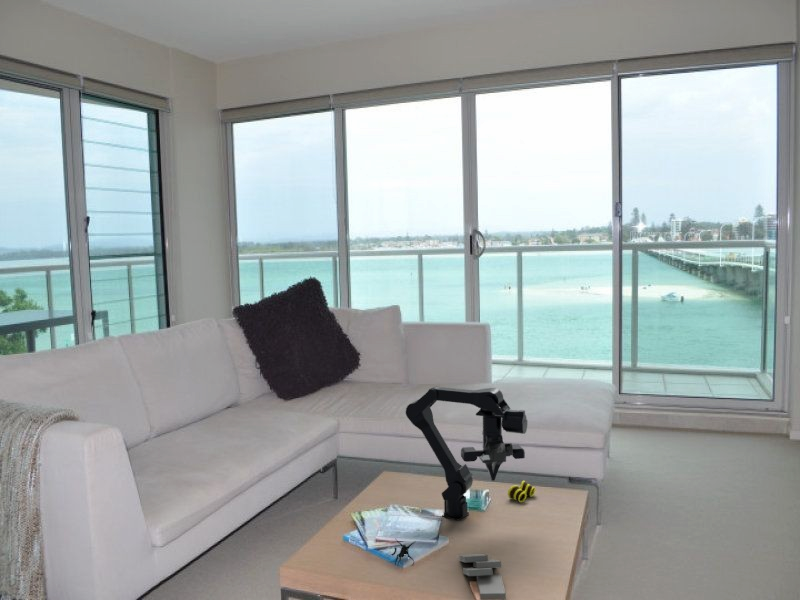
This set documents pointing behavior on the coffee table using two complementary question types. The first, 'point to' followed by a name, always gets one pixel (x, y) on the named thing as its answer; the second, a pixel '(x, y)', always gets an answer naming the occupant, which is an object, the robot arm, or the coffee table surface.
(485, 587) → the domino
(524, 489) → the opera glasses
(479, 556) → the domino
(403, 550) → the creature
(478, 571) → the domino
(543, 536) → the coffee table surface
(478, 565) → the domino
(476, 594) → the end domino
